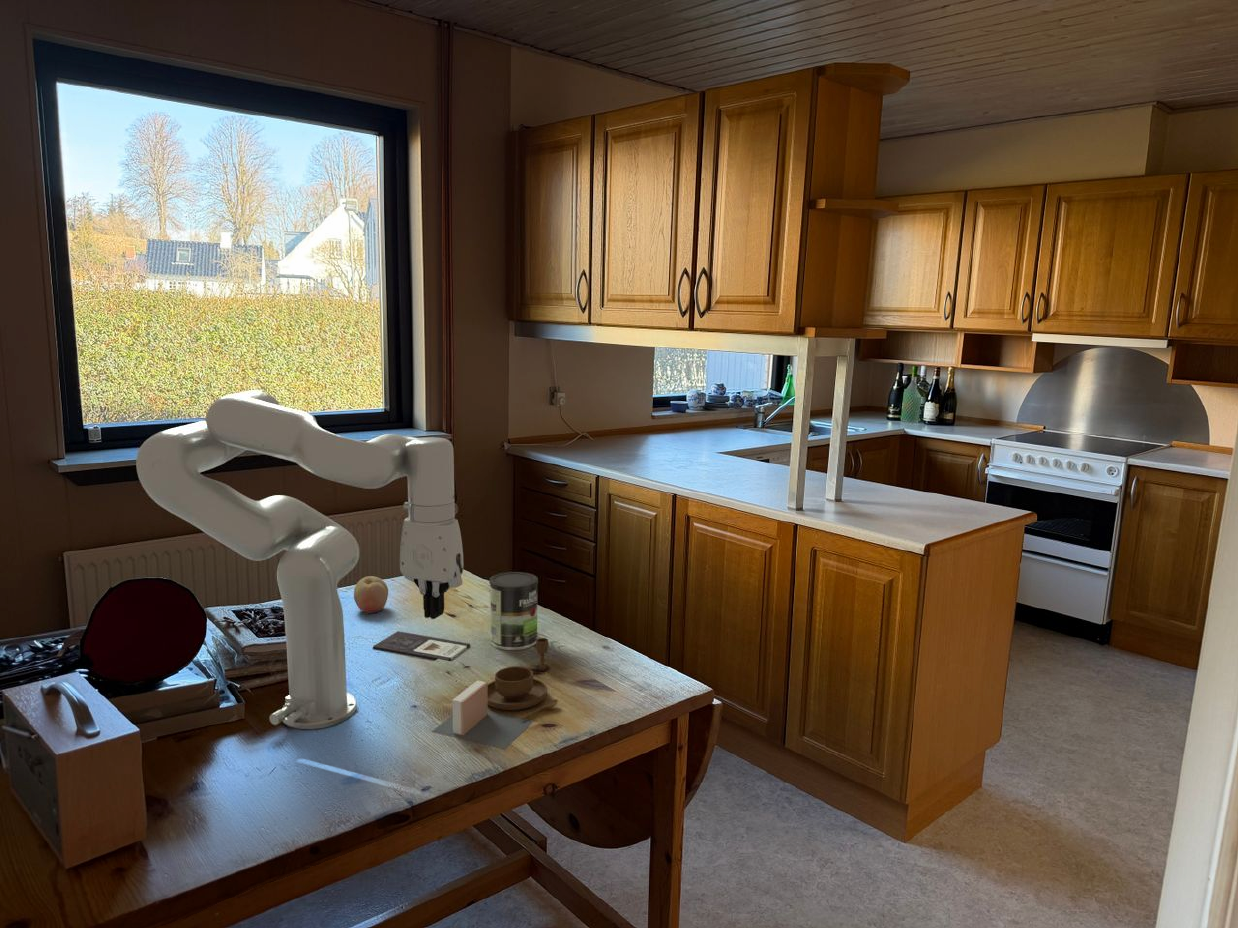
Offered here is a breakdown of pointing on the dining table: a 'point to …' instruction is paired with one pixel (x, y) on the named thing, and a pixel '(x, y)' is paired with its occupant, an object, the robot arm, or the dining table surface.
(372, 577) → the fruit
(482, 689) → the tile
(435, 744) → the dining table surface
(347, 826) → the dining table surface
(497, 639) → the coffee can
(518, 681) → the place setting
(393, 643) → the chocolate bar
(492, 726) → the mat
